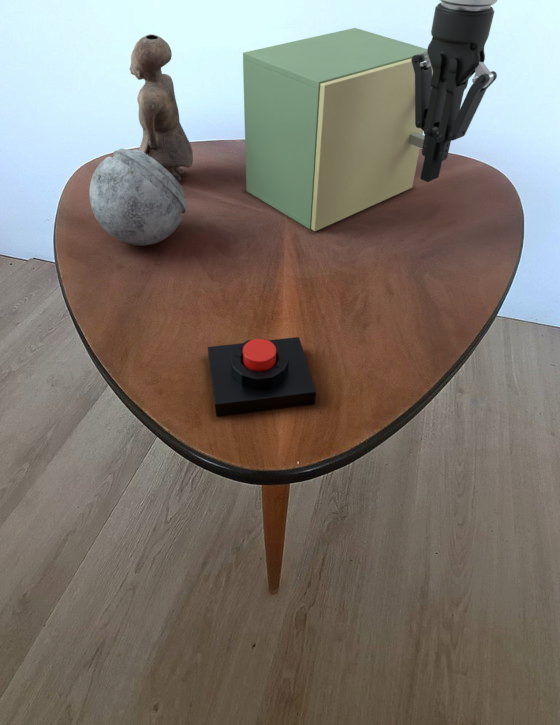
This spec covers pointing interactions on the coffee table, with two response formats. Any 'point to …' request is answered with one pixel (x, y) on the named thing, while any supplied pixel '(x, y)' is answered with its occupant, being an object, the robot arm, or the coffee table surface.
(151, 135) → the clay figurine
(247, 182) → the cupboard
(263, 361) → the button
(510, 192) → the coffee table surface
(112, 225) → the decorative orb
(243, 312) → the coffee table surface
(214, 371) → the button block
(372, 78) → the door
